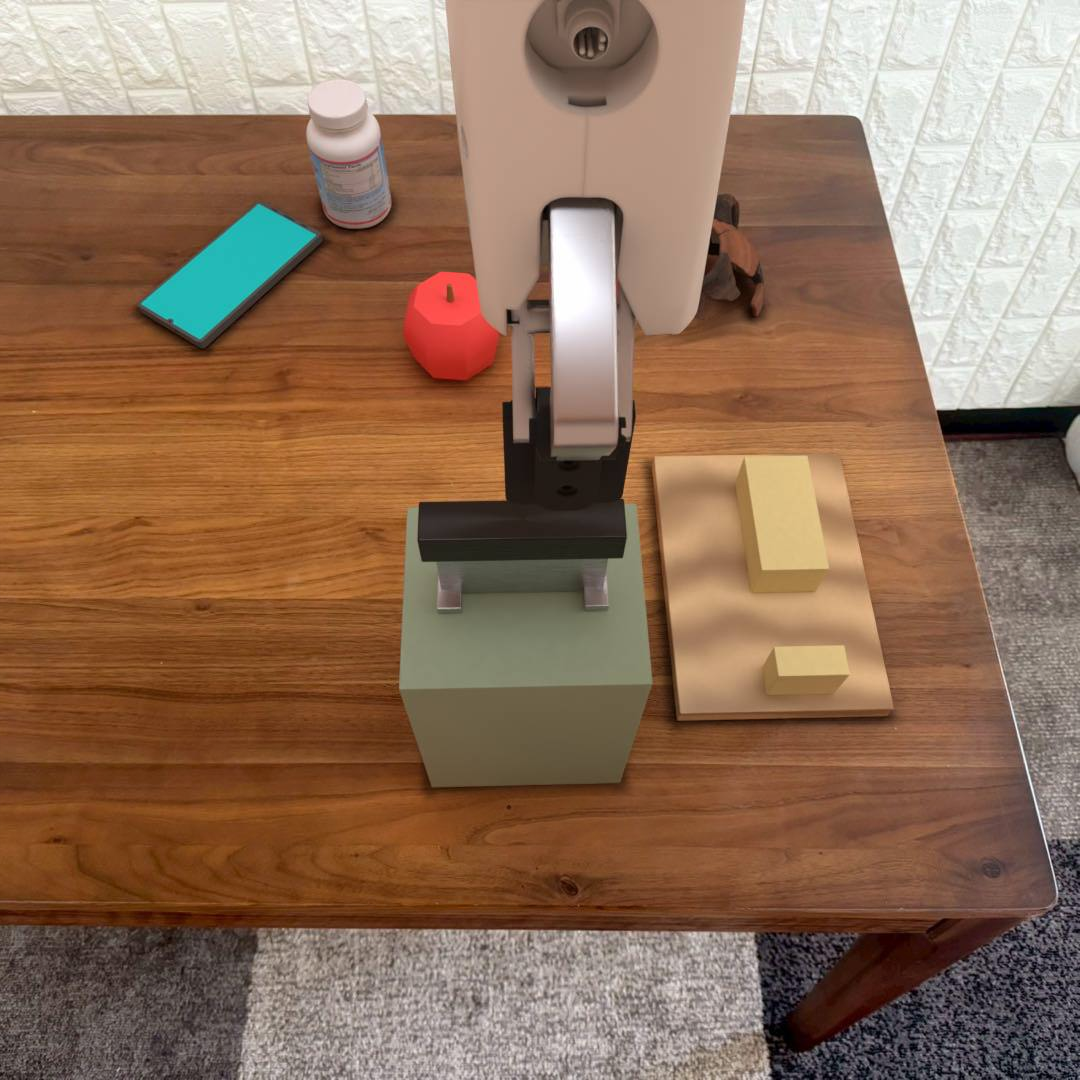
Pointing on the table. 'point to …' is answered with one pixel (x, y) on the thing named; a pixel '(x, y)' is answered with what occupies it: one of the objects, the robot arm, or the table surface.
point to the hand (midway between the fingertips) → (557, 357)
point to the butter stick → (780, 524)
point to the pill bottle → (347, 155)
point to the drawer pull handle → (520, 549)
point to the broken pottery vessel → (730, 258)
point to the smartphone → (230, 273)
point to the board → (758, 599)
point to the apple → (449, 327)
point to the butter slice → (805, 670)
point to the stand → (525, 677)
